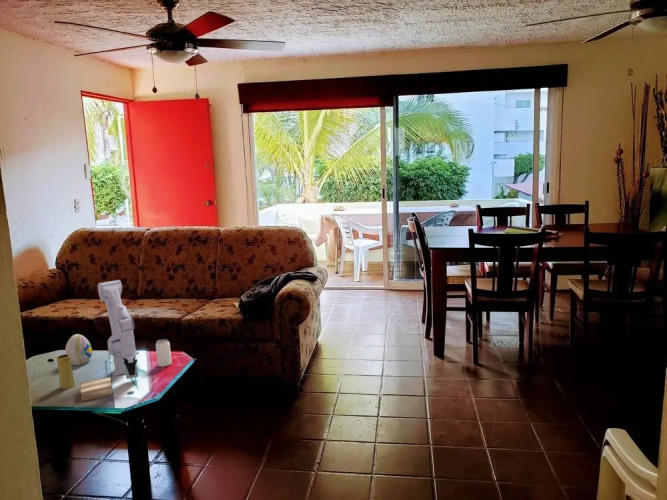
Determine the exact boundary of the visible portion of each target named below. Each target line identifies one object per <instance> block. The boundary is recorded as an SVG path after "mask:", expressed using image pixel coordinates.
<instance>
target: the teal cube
mask: <svg viewBox="0 0 667 500" xmlns="http://www.w3.org/2000/svg"><path fill="white" fill-rule="evenodd" d="M138 369H139V368H138V364H137V363H136V367H135V375H131V376H130V375H129V372H128V369H127V367H126V365H125V372H126V374H125V377H126V380H129V379H133V378H139V371H138Z"/></svg>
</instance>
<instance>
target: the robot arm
mask: <svg viewBox="0 0 667 500" xmlns="http://www.w3.org/2000/svg"><path fill="white" fill-rule="evenodd" d="M97 291H98V296H99V299H100V301H101V302H104V303H105V305H106V310H107V316H108V319H109V324H110V330H111V336H110V337H109V338H108V340H107V349H108V353H109V355H110V356H112V358H113V359H112V360H113V365H114V368H113V372H114V376H115V377H116V376H122V375H126V372H125V365H126V367H127V369H128V372H129V375H130V376H131V375H135V367H136V364H137V363H138V359H136V357H137V355H139V354H140V353H139V351H136V349H137V348H136V342H135V336H134V335H135V334H134V330H135V322H134V319H133V317H132V316H131V315H130V314H129V312H128V311H129V310H128V309H127V307H126V305H123V302H122V298H121V295H122V291H123V285H122V282H121V280H120V279H117V280H112V281H111V280H110V281H104V282H98V284H97Z"/></svg>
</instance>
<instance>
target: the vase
mask: <svg viewBox="0 0 667 500" xmlns="http://www.w3.org/2000/svg"><path fill="white" fill-rule="evenodd" d="M56 362H57V363H56V364H57V369H58V370H57V371H58V379H59V388H60V389H61V390H62V389H63V390H65V389H70V388H72V387H75V385H76V382H75V379H74V373H73V368H72V364H71V361H70V355H69V354H60V355H57V356H56Z"/></svg>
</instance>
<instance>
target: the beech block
mask: <svg viewBox="0 0 667 500" xmlns="http://www.w3.org/2000/svg"><path fill="white" fill-rule="evenodd" d="M113 394H114V393H113V387H112V380H111V377H110V376H109V377H105V378H100V379H95V380H90V381H84V382H80V396H81V401H83V402H84V401H88V400H92V399H97V398H101V397H105V396H106V397H107V396H110V395H113Z"/></svg>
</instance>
